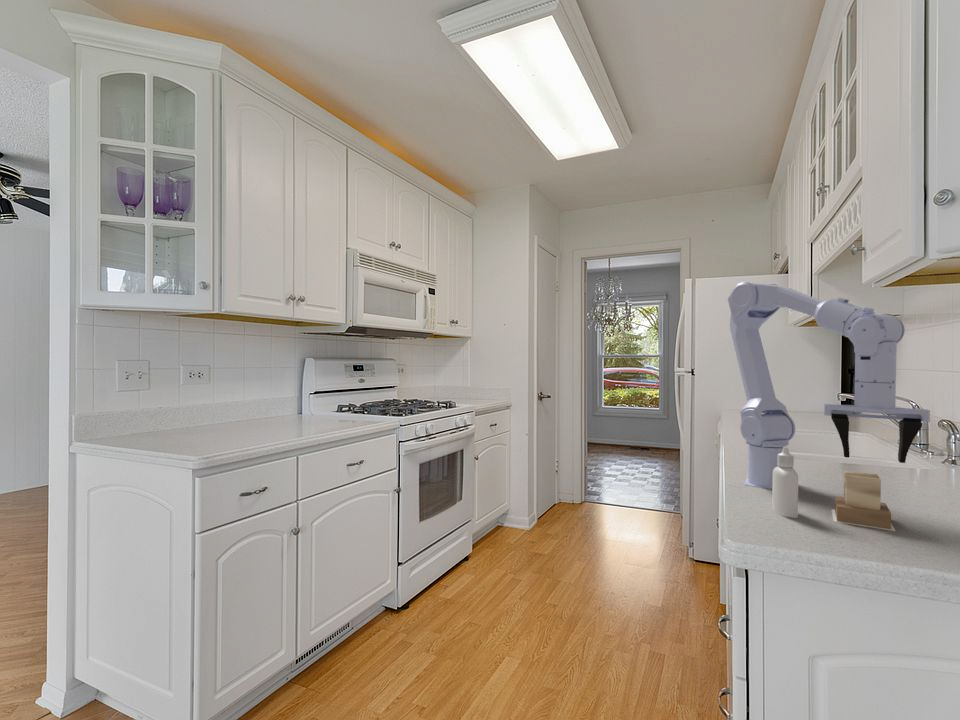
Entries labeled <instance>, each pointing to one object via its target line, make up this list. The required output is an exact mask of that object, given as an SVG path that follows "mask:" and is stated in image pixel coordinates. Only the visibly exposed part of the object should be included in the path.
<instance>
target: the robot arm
mask: <svg viewBox="0 0 960 720" xmlns="http://www.w3.org/2000/svg"><path fill="white" fill-rule="evenodd" d="M727 302H728V306H729V310H730V321H729V331H730V335H731V339H732V341H733V347H734V351H735V355H736V359H737V363H738V368H739V371H740V372H739V373H740V376H741V381H742V384H743V388H744V392H745V397H746V401H747V402H746V404H745V405H744V406H743V407H742V408H741V409H740V411H739V413H740V418H741V419H740V425H739V428H740V433H741V436H742V438H743V439H744V440H745V444H746V445H747V446H748V447H747V477H746V479H745V481H744V482H743V485H744V486H747V487H753V488H754V487H755V488H761V489H771V490H772V485H773V470H774V468H776V467H778V465H777V459H778V454H780V453H782V451H783V447H788V446H789V445H790V441H791V440H792V439H793V438H794V436H795V434H796V423H795V421H794V420H793V419H792V417H791V416H790V414H789V413H788V409H787V407H786V405H784V403H782V402H781V401H780V400H779V399H778V398H777V397H776V393H775V389H774V385H773V382H772V377H771V374H770V373H771V372H770V370H769V366H768V362H767V358H766V355H765V350H764V346H763V342H762V338H761V334H760V330H759V329H760V328H761V326H762V325H763V324H764V323H766V322H767V321H768V320H769V319H770V318H771V317H772V316H773V315H774V314H776V313H777V312H778V311H780V309H781V308H787V309H791V310H793V311H796V312H799V313H802V314H804V315H807V316H811V317H813V318H814V319H815V323H816V325H817V326H819V327H820V328H823V329H826V330H828V331H831V332H833V333H835V334H839V335H840V336H843V337H845V338H848V340H849V341H850V342H851V343H852V344H853V347H854V348H853V352H854V353H855V354H854V397H853V398H854V403H853V405H852V404H832V403H831V404H830V403H828V404H826V403H825V404H824V406H823V407H824V414H823V415H824V416H829V417H830V416H831V420H832V422H833V424H834V426H835V429H836V430H837V433H838V436H839V438H840V441H841V446H842V450H843V457H844V458H847V459H848V458H850V443H849V442H850V441H849V439H850V437H849V434H850V432H849V431H850V420H849V417H850V418H852V417H853V418H868V419H884V420H885V419H886V420H887V419H888V420H900V421H898V429H899V430H898V433H899V434H898V435H899V442H898V452H897V456H898V457H897V459H898V460H897V461H898V462H899V463H901V464H906V459H907V455H908V452H909V449H911V448H910V447H911V445H912V443H913V442H914V440H915V438H916V436H917V435H918V433H919V432H920V431H921V428H922V427H923V422H927V423H930V421H931V420H930V419H931V410H930V409H924V408H922V409H921V408H909V407H896V401H897V400H896V397H897V396H896V395H897V392H896V391H897V389H896V387H897V344H898V343H899V342H900V341H902V339H903V337H904V335H905V330H906V329H905V325H904V323H903V321H902V320H901V319H900V318H898V317H897V316H894V315H893V314H891V313H881V314H880V313H879V314H876V313H875V312H874V311H875V309H874V308H872V307H868V306H865V307H864V308H863V307H861V306H858V305H855V304H853V303H850V299H849V298H845V297H838V298H829V299H827V300H825V301H823V300H820V299H818V298H815V297H813V296H811V295H808V294H806V293H803V292H801V291H798V290H796V289H793V288H791V287H788V286H783V285H779V284H775V283H774V284H773V283H770V284H767V283H756V282H755V283H754V282H750V281H741V282H740V283H739V282H738V283H737V284H736V285H735V286H734V288H733V289H732V290H731V293H729V296H728V298H727ZM864 413H865V414H864ZM867 413H868V414H867ZM869 413H870V414H869ZM880 414H881V415H880ZM883 414H884V415H883ZM885 414H886V415H885Z"/></svg>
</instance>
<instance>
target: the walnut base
mask: <svg viewBox="0 0 960 720" xmlns="http://www.w3.org/2000/svg"><path fill="white" fill-rule="evenodd" d="M834 505H835V506H834V507H835V508H834V510H835V513H836V518H837V521H840V522H847V523H853V524H860V525H866V526H873V527H879V528H886V529H891V523H892V513H891V511H890V508H889V507H888V505H887V503H886V502H881V501H880V510H874V509H866V508H859V507H852V506H846V504H845V501H844V496H843V497H842V496H837V495H835V501H834Z"/></svg>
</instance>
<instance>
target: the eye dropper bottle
mask: <svg viewBox="0 0 960 720" xmlns="http://www.w3.org/2000/svg"><path fill="white" fill-rule="evenodd" d="M794 459H795V457H794V455H793V454H792V453H790V450H789V447H788V446H786V447H783V451H782V453H780V454H778V459H777V465H778V467H776V468H774V470H773V485H772V489H771V490H772V491H771V492H772V493H771V494H772V496H771V497H772V501H771V502H772V503H771V510H772V512H774V513H775V514H777V515H778V516H781V517H784V518H794V519H795V518H797V519H798V517H799V515H798V514H799V475H798V473H797V471H796V469H794V463H795V460H794Z"/></svg>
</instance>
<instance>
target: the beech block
mask: <svg viewBox="0 0 960 720" xmlns="http://www.w3.org/2000/svg"><path fill="white" fill-rule="evenodd" d="M843 473H844V474H843V480H844V481H843V497H844V501H845V504H846V506H852V507H859V508H866V509H874V510H880V502H881V499H882V498H881V493H882V491H881V489H882V487H881V486H882V483H881V482H882V479H881V477H879V475H878V474H877V473H870V472H869V473H867V472H859V471H858V472H857V471H852V470H851V471H850V470H844V471H843Z"/></svg>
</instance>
